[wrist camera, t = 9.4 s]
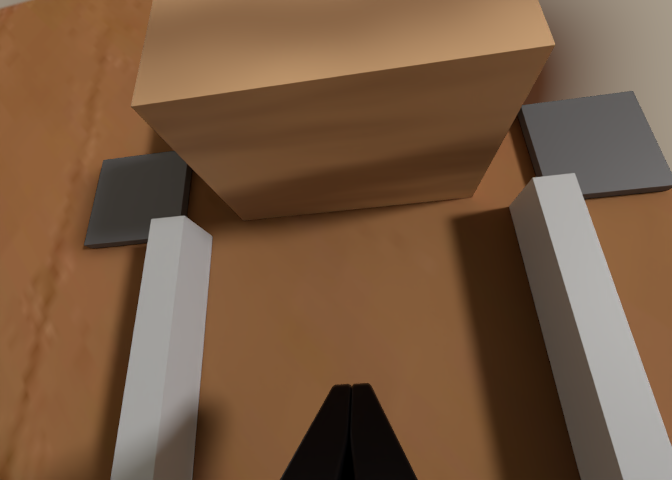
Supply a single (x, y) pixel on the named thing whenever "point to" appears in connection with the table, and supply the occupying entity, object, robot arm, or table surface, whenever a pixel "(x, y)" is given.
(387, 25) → the step block
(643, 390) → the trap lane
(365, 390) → the robot arm
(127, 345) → the table surface
